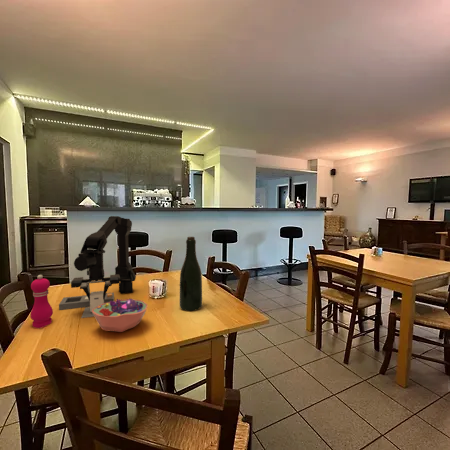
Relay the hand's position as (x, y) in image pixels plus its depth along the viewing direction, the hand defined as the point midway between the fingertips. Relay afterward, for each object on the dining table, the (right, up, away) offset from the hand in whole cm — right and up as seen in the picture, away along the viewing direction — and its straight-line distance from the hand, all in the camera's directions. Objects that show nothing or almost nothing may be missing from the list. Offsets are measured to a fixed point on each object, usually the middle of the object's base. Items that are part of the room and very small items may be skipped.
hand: (97, 299), depth 114 cm
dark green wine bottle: (+40, -6, +7) cm, 41 cm away
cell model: (+16, -7, -14) cm, 22 cm away
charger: (0, -4, 0) cm, 4 cm away
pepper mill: (-16, -7, -12) cm, 21 cm away
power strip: (-8, -5, +9) cm, 13 cm away
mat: (0, -6, 0) cm, 6 cm away
